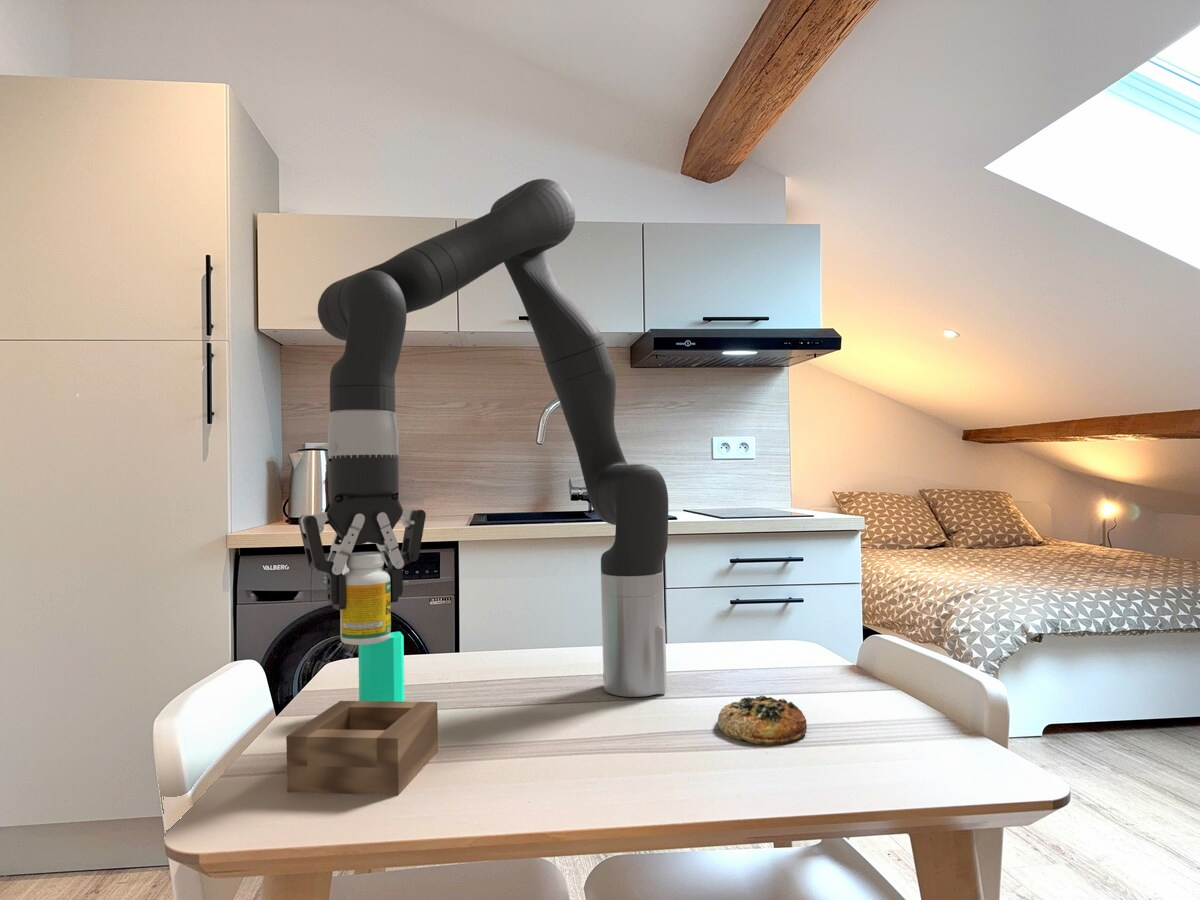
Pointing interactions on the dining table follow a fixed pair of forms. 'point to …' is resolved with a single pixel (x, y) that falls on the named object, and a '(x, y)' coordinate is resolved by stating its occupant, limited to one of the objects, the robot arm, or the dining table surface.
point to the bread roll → (762, 721)
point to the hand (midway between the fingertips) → (365, 604)
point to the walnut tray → (362, 748)
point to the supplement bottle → (366, 600)
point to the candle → (382, 670)
